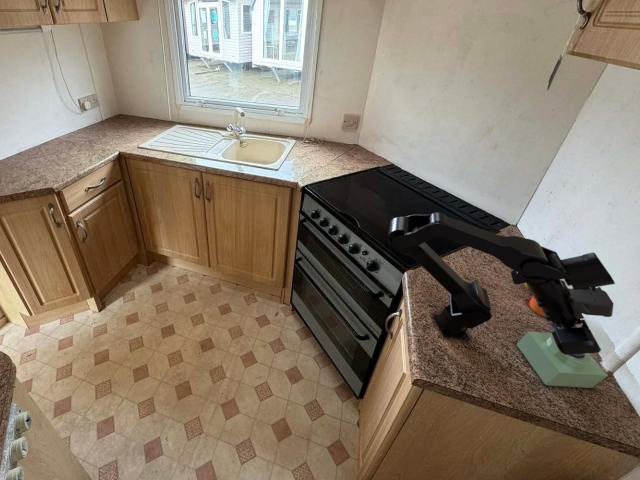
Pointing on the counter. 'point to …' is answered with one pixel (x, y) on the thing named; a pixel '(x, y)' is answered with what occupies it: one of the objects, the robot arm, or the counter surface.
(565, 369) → the green flat block
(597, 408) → the counter surface
